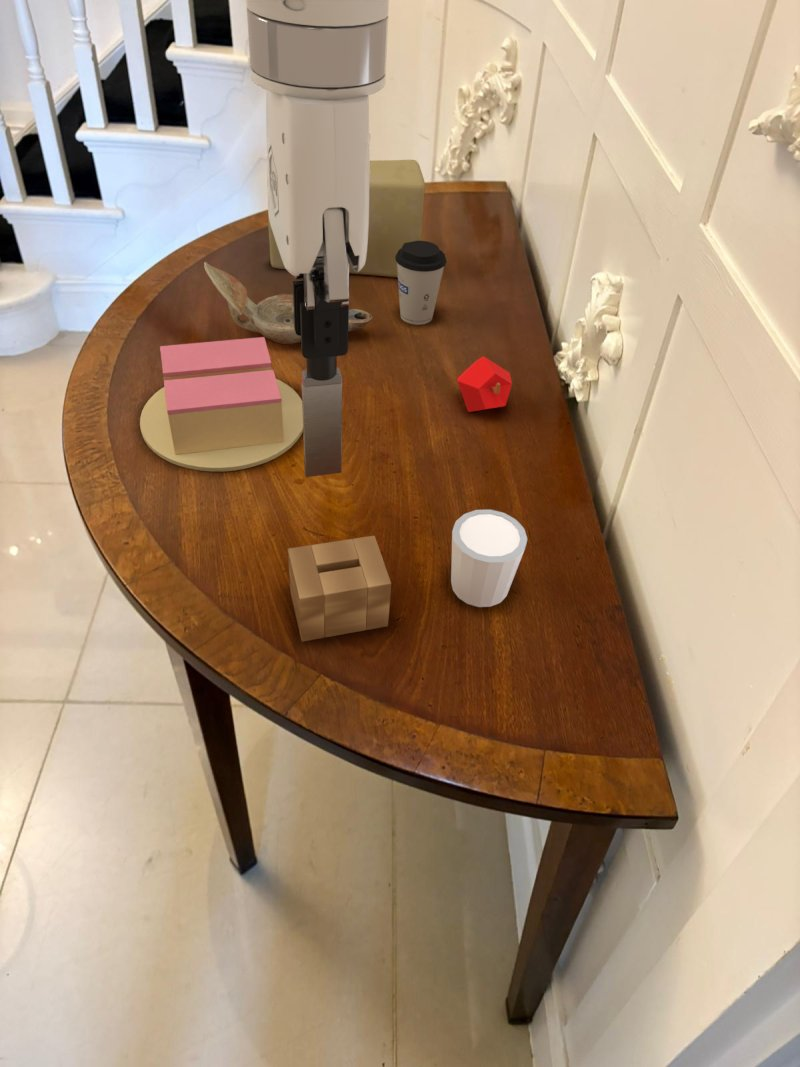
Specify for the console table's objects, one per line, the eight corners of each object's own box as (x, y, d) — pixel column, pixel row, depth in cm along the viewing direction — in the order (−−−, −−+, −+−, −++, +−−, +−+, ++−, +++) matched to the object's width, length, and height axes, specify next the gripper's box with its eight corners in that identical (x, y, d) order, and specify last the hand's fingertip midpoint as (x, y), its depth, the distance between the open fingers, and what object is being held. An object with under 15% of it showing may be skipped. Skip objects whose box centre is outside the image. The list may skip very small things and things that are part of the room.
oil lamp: (215, 316, 108) (207, 247, 101) (370, 319, 110) (373, 251, 103) (209, 351, 102) (199, 279, 95) (373, 353, 104) (375, 283, 97)
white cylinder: (515, 563, 79) (527, 512, 74) (515, 616, 74) (528, 565, 69) (446, 555, 79) (454, 504, 74) (442, 607, 74) (450, 557, 69)
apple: (449, 348, 96) (476, 361, 89) (499, 352, 98) (528, 365, 91) (441, 403, 99) (466, 420, 92) (489, 406, 101) (517, 423, 94)
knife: (307, 484, 64) (300, 279, 51) (302, 467, 65) (295, 263, 53) (343, 480, 64) (345, 276, 52) (338, 463, 66) (338, 261, 53)
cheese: (270, 282, 116) (264, 178, 105) (271, 252, 123) (265, 151, 112) (419, 282, 119) (427, 181, 108) (411, 253, 125) (418, 154, 115)
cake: (144, 482, 84) (133, 433, 79) (137, 381, 96) (127, 334, 92) (320, 460, 88) (319, 412, 83) (291, 366, 101) (289, 320, 96)
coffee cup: (442, 306, 114) (449, 239, 107) (439, 331, 109) (446, 263, 102) (394, 301, 114) (398, 234, 107) (389, 326, 109) (393, 257, 102)
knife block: (301, 642, 70) (299, 598, 66) (290, 592, 74) (287, 548, 70) (388, 626, 72) (391, 583, 68) (372, 578, 76) (374, 535, 72)
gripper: (233, 12, 48) (253, 292, 61) (270, 97, 37) (285, 415, 50) (354, 14, 49) (348, 286, 62) (423, 95, 39) (399, 404, 52)
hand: (320, 341), depth 56 cm, fingers closed on knife, 2 cm apart
